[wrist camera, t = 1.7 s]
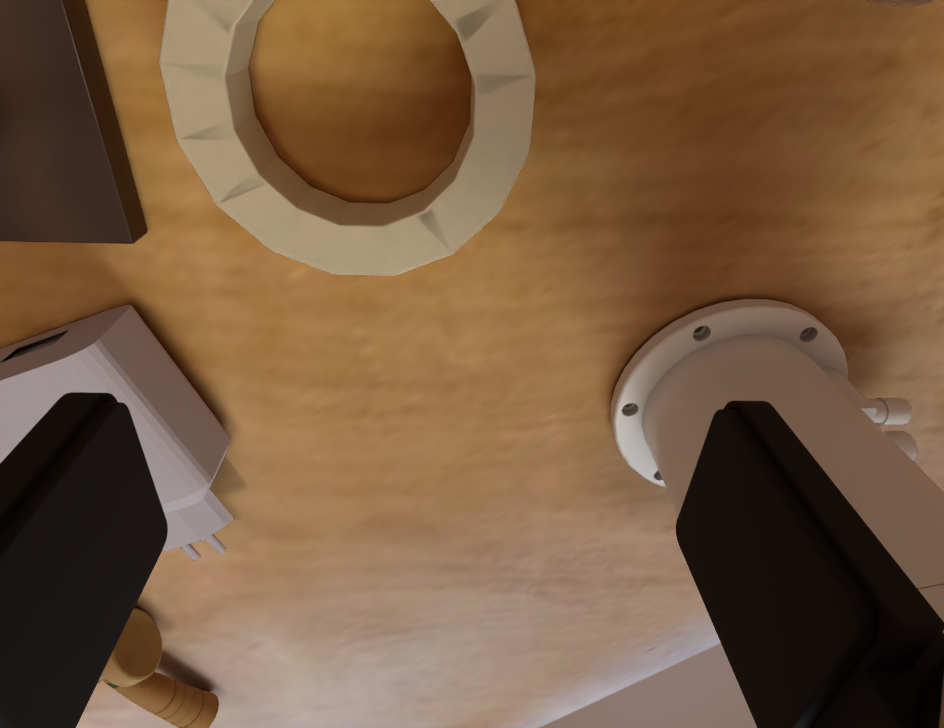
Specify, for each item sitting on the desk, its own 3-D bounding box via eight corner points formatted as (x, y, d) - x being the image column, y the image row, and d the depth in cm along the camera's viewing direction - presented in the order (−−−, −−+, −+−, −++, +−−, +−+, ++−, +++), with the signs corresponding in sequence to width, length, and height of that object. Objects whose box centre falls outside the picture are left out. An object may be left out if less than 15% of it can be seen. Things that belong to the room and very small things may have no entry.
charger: (159, 541, 37) (-20, 354, 29) (289, 504, 36) (137, 298, 28) (125, 607, 33) (-93, 411, 26) (270, 568, 32) (87, 348, 24)
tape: (539, -103, 21) (553, -116, 18) (512, 251, 28) (519, 278, 25) (154, -123, 20) (111, -140, 17) (227, 246, 27) (205, 272, 24)
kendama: (259, 662, 47) (72, 558, 36) (230, 754, 43) (7, 668, 32) (187, 669, 50) (-7, 575, 39) (153, 757, 45) (-78, 678, 34)
